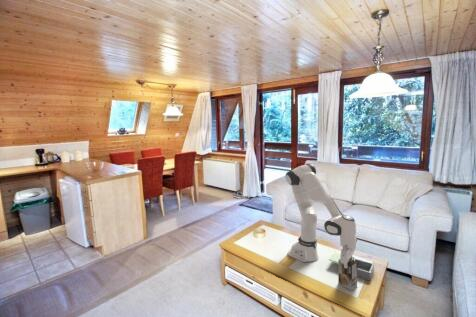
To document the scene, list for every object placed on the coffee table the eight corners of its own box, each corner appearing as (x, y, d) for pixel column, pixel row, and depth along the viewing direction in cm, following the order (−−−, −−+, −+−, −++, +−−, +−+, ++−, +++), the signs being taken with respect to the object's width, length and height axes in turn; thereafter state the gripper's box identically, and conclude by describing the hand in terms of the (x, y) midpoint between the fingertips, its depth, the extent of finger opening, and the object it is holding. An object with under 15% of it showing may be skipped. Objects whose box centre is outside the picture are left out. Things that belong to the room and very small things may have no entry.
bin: (345, 272, 162) (345, 265, 162) (350, 264, 172) (350, 257, 171) (370, 280, 153) (370, 272, 153) (373, 271, 163) (373, 263, 162)
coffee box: (357, 286, 148) (358, 262, 146) (351, 291, 144) (352, 265, 142) (343, 279, 155) (343, 256, 153) (337, 283, 152) (338, 259, 150)
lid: (328, 260, 168) (329, 256, 168) (334, 252, 178) (334, 249, 178) (351, 266, 159) (351, 263, 159) (355, 258, 169) (356, 254, 169)
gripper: (348, 251, 136) (349, 274, 138) (357, 237, 152) (357, 258, 154) (337, 248, 140) (337, 270, 142) (347, 235, 156) (347, 255, 158)
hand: (348, 263), depth 148 cm, fingers open, 8 cm apart
